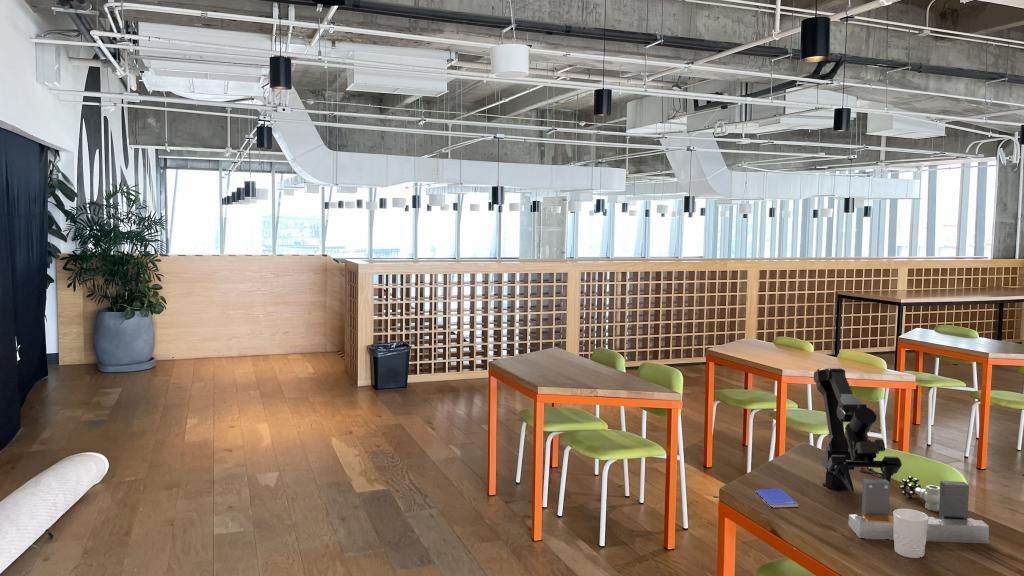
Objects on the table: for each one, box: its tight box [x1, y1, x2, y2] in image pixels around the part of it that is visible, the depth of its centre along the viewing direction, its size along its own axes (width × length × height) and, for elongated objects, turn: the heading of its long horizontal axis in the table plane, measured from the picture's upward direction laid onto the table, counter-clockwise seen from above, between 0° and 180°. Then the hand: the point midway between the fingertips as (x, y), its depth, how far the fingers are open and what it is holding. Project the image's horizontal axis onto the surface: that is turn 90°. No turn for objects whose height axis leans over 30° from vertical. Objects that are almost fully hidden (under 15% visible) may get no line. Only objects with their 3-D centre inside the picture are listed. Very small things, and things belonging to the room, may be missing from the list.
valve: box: [899, 475, 940, 512], centre depth 227 cm, size 7×7×12 cm
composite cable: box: [859, 467, 882, 478], centre depth 254 cm, size 10×5×2 cm, turn 13°
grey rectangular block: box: [861, 478, 891, 516], centre depth 208 cm, size 3×6×13 cm, turn 84°
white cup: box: [892, 508, 929, 559], centre depth 194 cm, size 8×8×10 cm
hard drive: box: [755, 488, 799, 508], centre depth 232 cm, size 2×8×12 cm
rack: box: [847, 480, 990, 544], centre depth 205 cm, size 10×32×14 cm, turn 83°
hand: (870, 492), depth 212 cm, fingers open, 9 cm apart
